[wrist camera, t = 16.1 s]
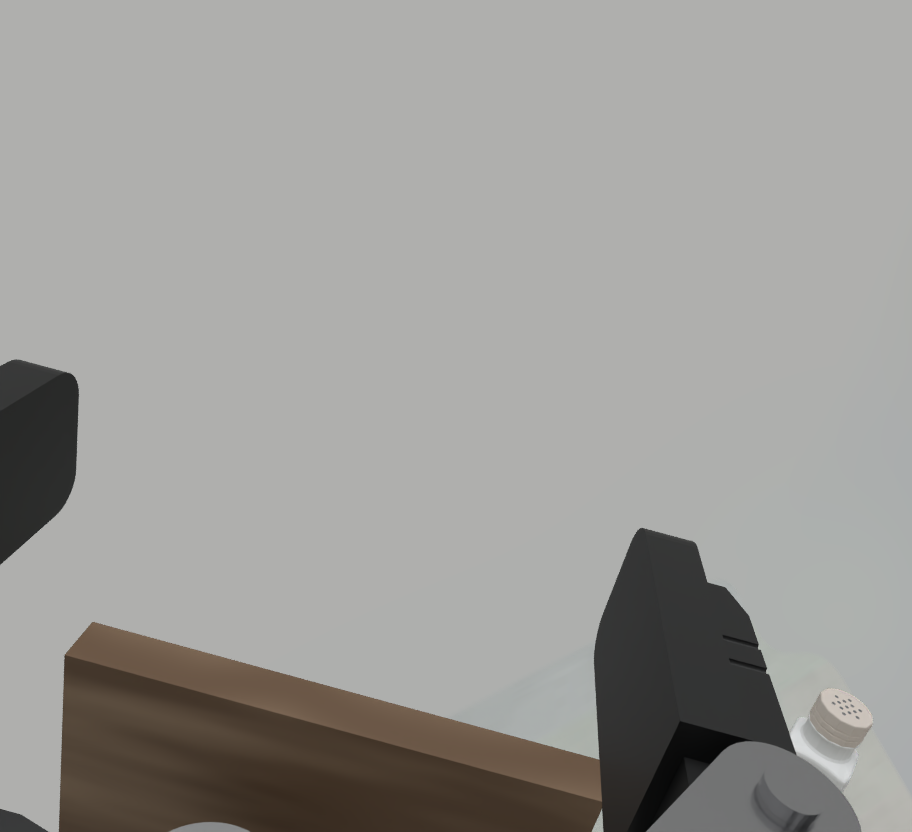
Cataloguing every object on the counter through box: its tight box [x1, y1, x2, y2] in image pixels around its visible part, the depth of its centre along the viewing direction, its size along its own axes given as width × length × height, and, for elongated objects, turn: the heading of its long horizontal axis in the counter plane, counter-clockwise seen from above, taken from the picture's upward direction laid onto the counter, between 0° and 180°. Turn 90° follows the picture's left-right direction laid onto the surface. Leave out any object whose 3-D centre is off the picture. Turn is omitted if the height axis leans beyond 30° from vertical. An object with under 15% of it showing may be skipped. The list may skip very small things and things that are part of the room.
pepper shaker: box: [789, 688, 873, 792], centre depth 51 cm, size 4×4×10 cm
